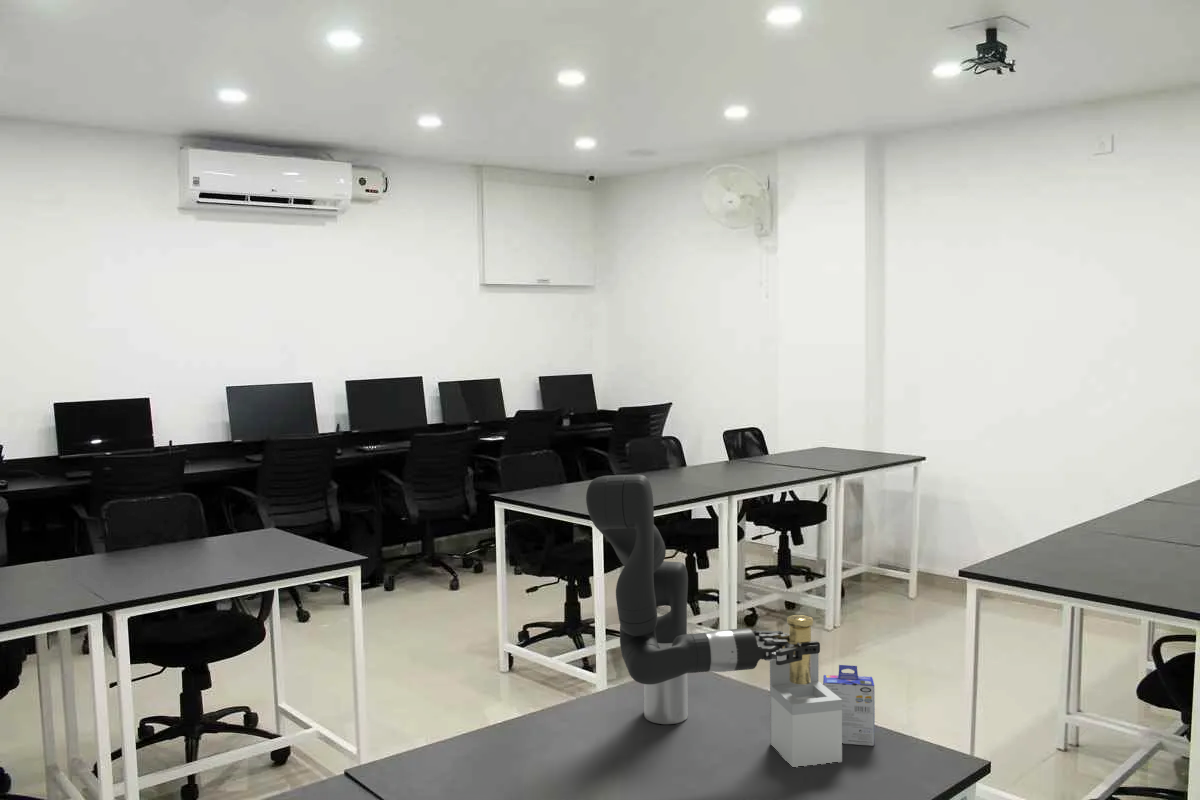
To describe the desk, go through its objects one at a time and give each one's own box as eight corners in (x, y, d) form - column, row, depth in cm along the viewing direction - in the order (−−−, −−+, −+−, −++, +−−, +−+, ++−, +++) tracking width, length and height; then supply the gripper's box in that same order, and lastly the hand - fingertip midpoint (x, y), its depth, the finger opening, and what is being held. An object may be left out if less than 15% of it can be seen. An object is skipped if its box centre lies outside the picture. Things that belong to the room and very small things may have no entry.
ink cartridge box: (873, 735, 187) (873, 664, 186) (875, 747, 181) (875, 674, 180) (822, 732, 189) (822, 662, 188) (823, 743, 183) (823, 671, 182)
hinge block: (770, 744, 183) (769, 654, 182) (817, 739, 185) (817, 650, 184) (792, 767, 173) (792, 672, 172) (842, 762, 175) (842, 668, 174)
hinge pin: (783, 677, 179) (783, 615, 178) (806, 675, 180) (806, 614, 179) (793, 686, 174) (793, 623, 174) (817, 684, 175) (817, 621, 175)
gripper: (741, 642, 167) (830, 635, 170) (716, 619, 181) (798, 613, 184) (741, 683, 167) (830, 675, 171) (716, 657, 181) (798, 650, 184)
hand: (813, 643), depth 177 cm, fingers closed on hinge pin, 4 cm apart
